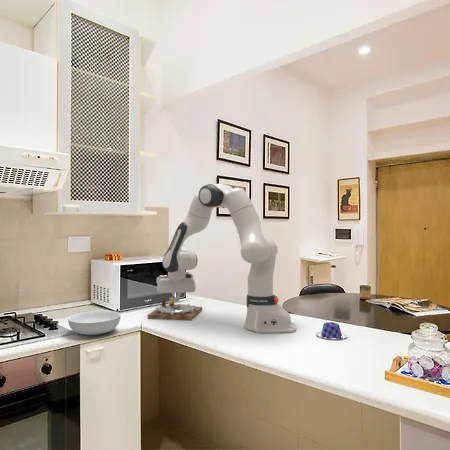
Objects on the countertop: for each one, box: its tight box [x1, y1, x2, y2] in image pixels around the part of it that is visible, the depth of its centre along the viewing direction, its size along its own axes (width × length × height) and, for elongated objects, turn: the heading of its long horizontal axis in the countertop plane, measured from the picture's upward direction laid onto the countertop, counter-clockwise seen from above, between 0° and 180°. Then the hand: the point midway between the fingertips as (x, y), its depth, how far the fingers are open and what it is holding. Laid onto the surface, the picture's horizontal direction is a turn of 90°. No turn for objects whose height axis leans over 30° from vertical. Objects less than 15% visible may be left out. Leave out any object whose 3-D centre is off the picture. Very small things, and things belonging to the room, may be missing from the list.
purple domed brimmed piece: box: [315, 321, 348, 341], centre depth 147 cm, size 12×12×5 cm
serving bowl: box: [67, 310, 121, 336], centre depth 154 cm, size 21×21×7 cm
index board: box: [147, 296, 203, 321], centre depth 187 cm, size 22×22×7 cm
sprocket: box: [155, 296, 197, 315], centre depth 187 cm, size 21×21×5 cm
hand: (176, 301), depth 194 cm, fingers closed
